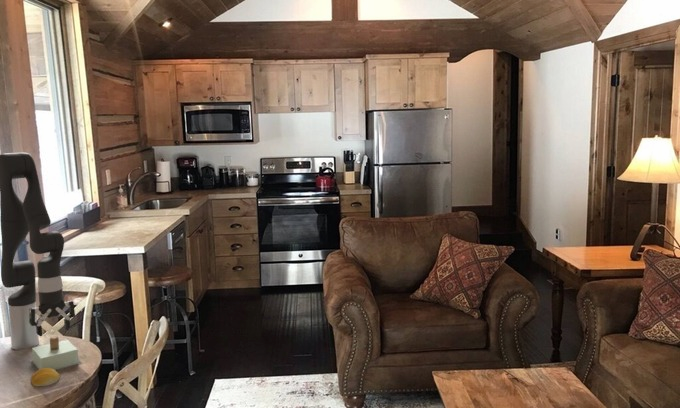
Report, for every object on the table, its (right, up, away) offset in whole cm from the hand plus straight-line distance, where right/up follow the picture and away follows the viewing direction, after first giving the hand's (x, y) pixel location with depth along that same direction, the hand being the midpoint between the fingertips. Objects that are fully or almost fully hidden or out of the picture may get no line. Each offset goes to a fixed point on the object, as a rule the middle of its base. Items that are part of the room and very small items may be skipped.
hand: (53, 332), depth 194 cm
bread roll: (+3, -14, -11) cm, 18 cm away
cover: (0, -11, +2) cm, 11 cm away
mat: (0, -12, +2) cm, 12 cm away
